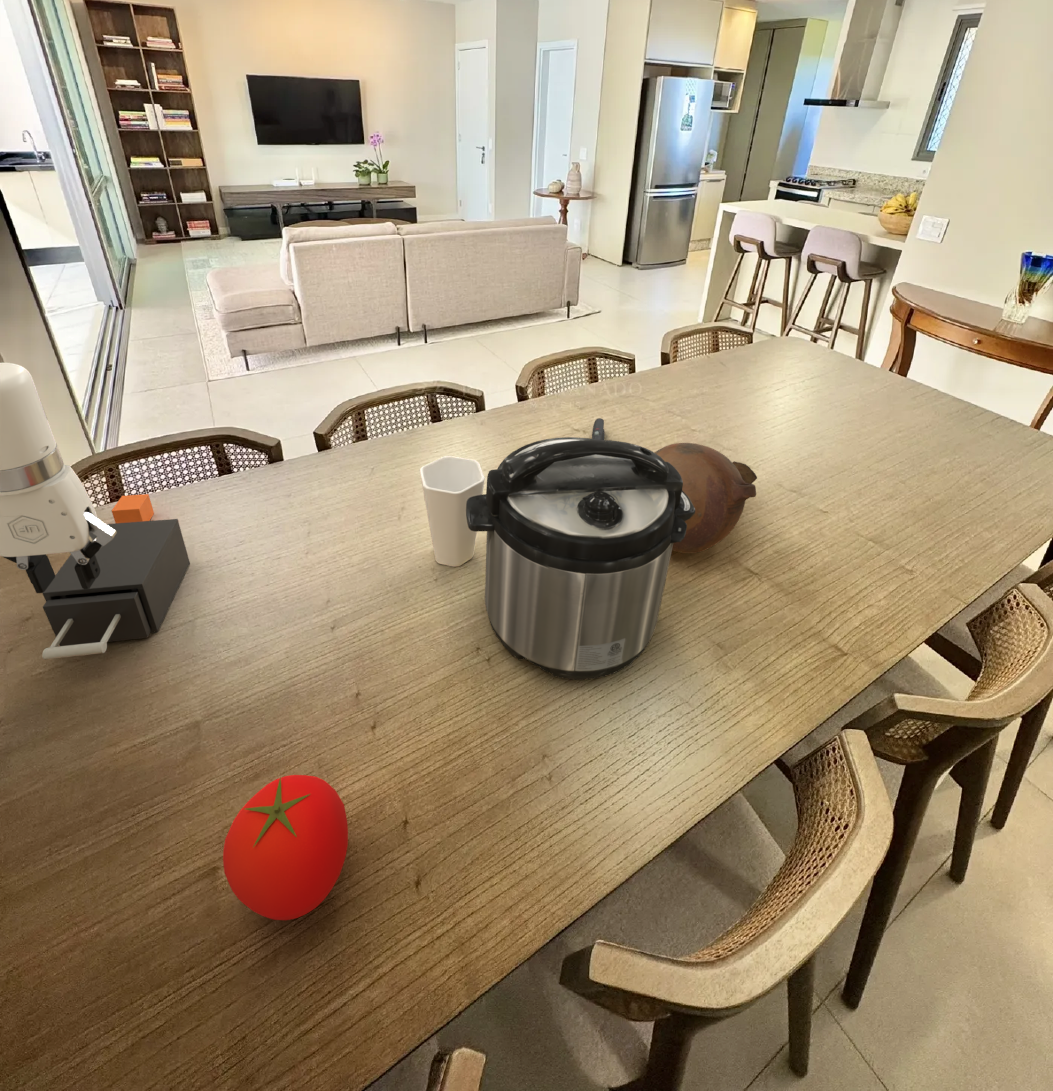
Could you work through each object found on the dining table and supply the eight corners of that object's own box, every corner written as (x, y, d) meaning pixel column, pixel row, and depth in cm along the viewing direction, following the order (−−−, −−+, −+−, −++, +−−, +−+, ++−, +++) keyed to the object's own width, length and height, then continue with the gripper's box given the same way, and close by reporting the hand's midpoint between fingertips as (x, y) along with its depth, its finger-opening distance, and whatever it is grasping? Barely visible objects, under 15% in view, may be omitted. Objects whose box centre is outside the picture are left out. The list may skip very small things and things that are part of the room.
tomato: (373, 838, 65) (364, 767, 59) (318, 964, 55) (300, 893, 50) (283, 808, 67) (265, 736, 61) (215, 923, 58) (187, 851, 52)
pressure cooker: (683, 585, 101) (717, 423, 87) (639, 727, 77) (675, 538, 63) (524, 531, 111) (531, 380, 97) (444, 641, 88) (438, 464, 74)
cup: (488, 569, 102) (489, 488, 95) (429, 579, 99) (425, 497, 92) (474, 528, 112) (475, 452, 104) (421, 536, 109) (417, 459, 101)
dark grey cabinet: (158, 632, 88) (142, 584, 84) (63, 642, 86) (42, 593, 81) (190, 563, 101) (177, 518, 96) (108, 570, 98) (92, 525, 94)
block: (117, 530, 107) (111, 510, 105) (128, 515, 111) (122, 495, 109) (144, 528, 108) (138, 508, 106) (154, 513, 112) (148, 493, 110)
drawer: (129, 674, 80) (114, 634, 77) (35, 685, 78) (15, 644, 75) (179, 571, 98) (168, 534, 94) (103, 578, 96) (89, 540, 92)
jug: (673, 588, 100) (760, 541, 119) (726, 502, 91) (811, 466, 110) (594, 508, 112) (685, 477, 132) (634, 425, 103) (725, 405, 122)
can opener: (606, 470, 131) (608, 449, 128) (575, 465, 132) (577, 444, 130) (614, 432, 147) (616, 412, 144) (586, 427, 148) (588, 408, 145)
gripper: (-86, 491, 64) (-24, 612, 72) (86, 480, 67) (128, 598, 75) (-40, 454, 71) (13, 569, 79) (115, 445, 74) (151, 557, 82)
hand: (68, 582), depth 77 cm, fingers open, 4 cm apart
